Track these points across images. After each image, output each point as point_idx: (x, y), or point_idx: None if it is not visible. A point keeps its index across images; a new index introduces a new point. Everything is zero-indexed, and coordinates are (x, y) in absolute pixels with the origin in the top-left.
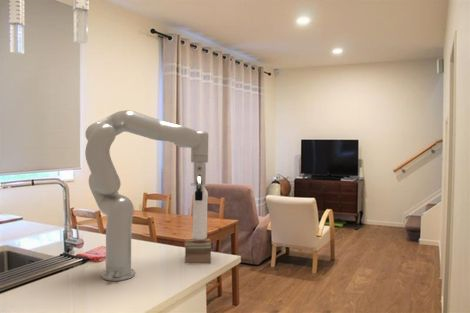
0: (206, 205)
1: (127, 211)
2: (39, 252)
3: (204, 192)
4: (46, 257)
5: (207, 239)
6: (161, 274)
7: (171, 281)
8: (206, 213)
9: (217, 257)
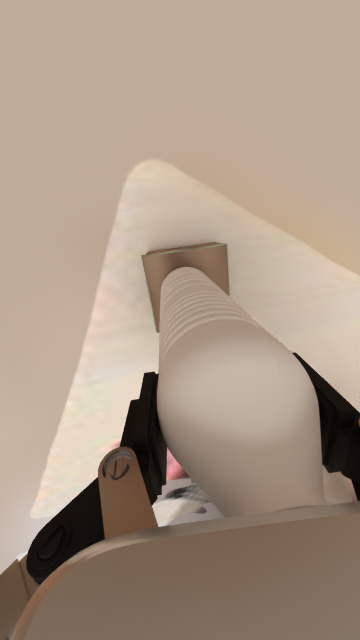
0: (235, 305)
1: None
2: (171, 520)
3: (309, 383)
4: (194, 505)
5: (152, 265)
6: (284, 338)
7: (326, 312)
8: (219, 289)
9: (158, 227)
